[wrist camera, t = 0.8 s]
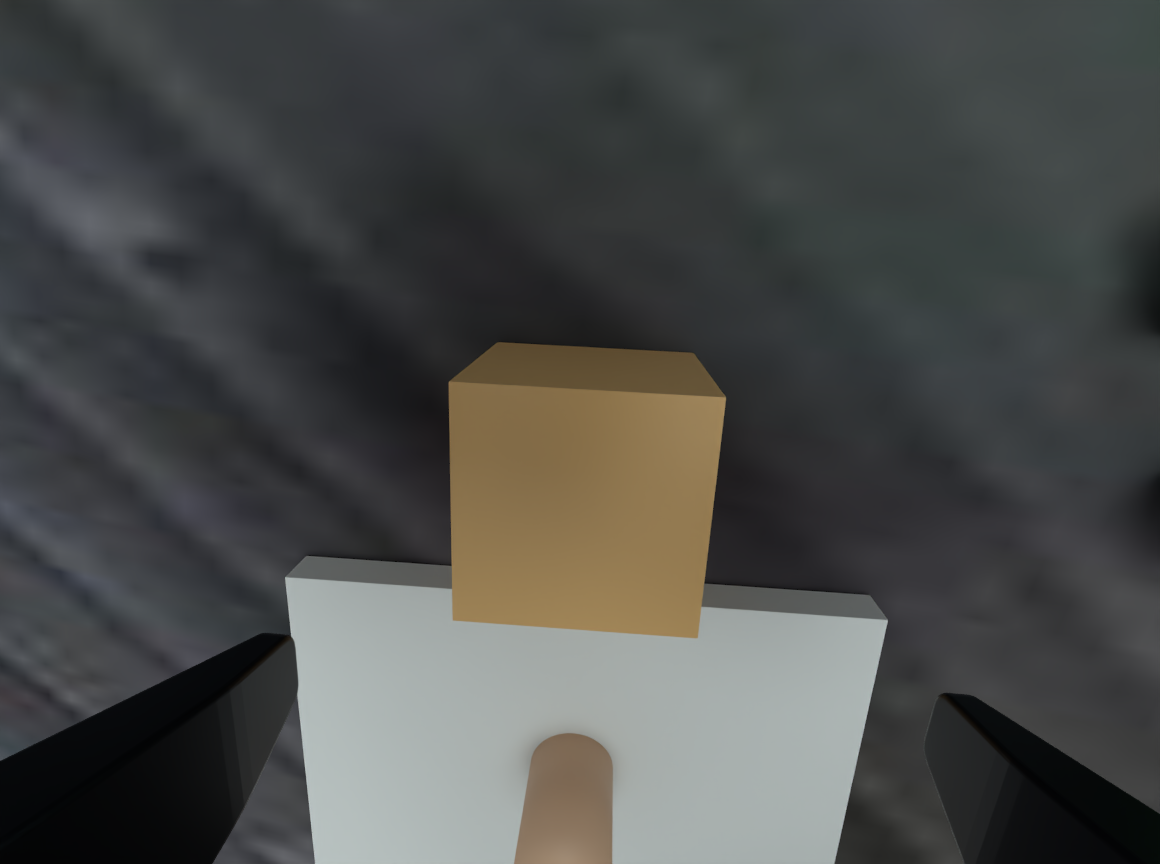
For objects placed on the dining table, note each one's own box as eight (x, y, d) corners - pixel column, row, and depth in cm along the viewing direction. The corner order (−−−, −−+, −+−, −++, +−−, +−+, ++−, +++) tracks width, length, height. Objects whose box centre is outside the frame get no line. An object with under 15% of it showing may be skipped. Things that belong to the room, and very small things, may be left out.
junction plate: (808, 892, 25) (857, 1060, 20) (333, 850, 26) (263, 1000, 21) (869, 595, 21) (952, 708, 16) (306, 555, 22) (210, 651, 17)
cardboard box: (675, 532, 21) (697, 638, 15) (496, 520, 21) (452, 620, 16) (693, 353, 19) (726, 397, 14) (497, 342, 20) (448, 381, 14)
